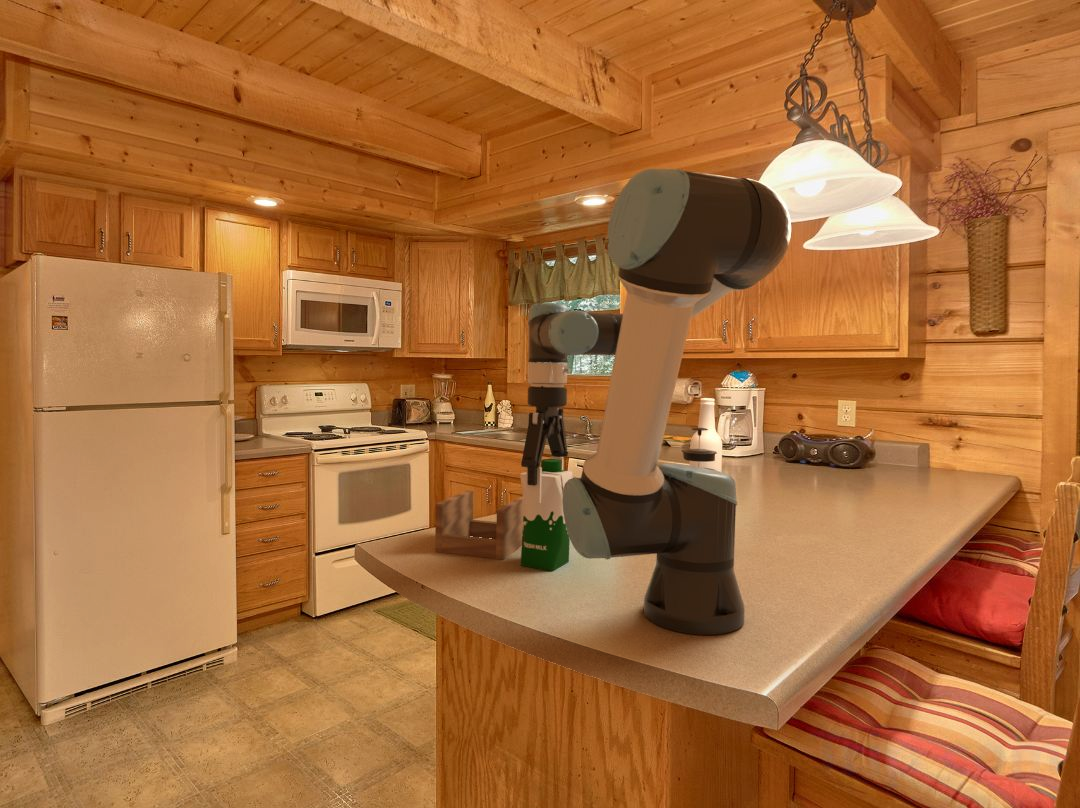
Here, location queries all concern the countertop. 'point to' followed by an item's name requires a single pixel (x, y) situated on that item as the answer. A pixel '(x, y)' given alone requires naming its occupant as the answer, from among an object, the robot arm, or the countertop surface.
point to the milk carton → (545, 520)
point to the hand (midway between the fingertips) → (545, 495)
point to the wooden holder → (477, 528)
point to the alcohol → (707, 436)
